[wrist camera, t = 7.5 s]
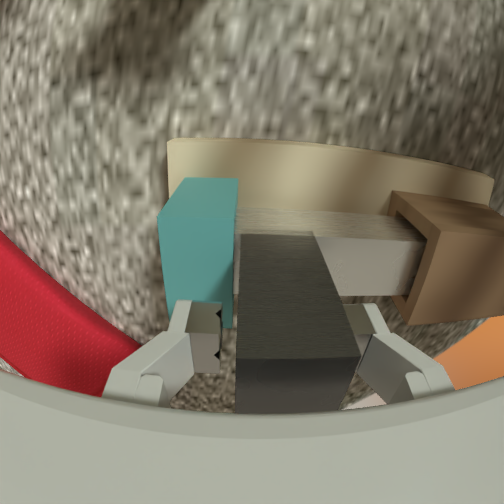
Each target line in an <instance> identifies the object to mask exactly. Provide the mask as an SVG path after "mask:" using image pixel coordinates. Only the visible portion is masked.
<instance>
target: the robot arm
mask: <svg viewBox="0 0 504 504" xmlns="http://www.w3.org/2000/svg"><path fill="white" fill-rule="evenodd" d="M343 307H344V309H345V312H346V315H347V317H348V320H349V323H350V325H351V328H352V331H353V333H354V336H355V339H356V342H357V344H358V347H359V350H360V353H361V355H362V357H361V359H360V361H359V364H358V366H357V369H356V371H355V372H357V374H358V375H359V376H360V377H361V378H362V379H363V380H364V381H365V382H366V383H367V384H368V385H369V386H370V387H371V388H372V389H373V390H374V391H375V392H376V393H377V394H378V395H379V396H380V397H381V398H382V399H383V400H384V401H385V402H386V403H387V405H379V406H373V407H365V408H356V409H347V410H336V411H323V412H307V413H279V414H250V413H221V412H204V411H192V410H181V409H172V408H171V406H170V402H169V401H170V400H171V399H172V398H173V397H174V396H175V395H176V394H177V392H178V391H179V390H180V389H181V388H182V387H183V386H184V385H185V384H186V383H187V381H188V380H189V379H190V378H191V377H192V376H193V375H194V372H196V373H220V367H221V349H222V343H223V321H222V316H223V303H222V302H215V301H200V300H184V299H178V300H177V301H176V303H175V306H174V310H173V313H172V316H171V320H170V323H169V327H168V330H167V331H162V332H161V333H160V334H158V335H157V336H156V337H154V338H153V339H152V340H150V341H149V342H147V343H146V344H145V345H143V346H142V347H141V348H139V349H138V350H137V351H135V352H134V353H132V354H131V355H130V356H128V357H127V358H126V359H124V360H123V361H121V362H120V363H119V364H117V365H116V366H115V367H113V368H112V370H111V373H110V375H109V378H108V380H107V383H106V386H105V388H104V391H103V394H102V396H101V397H97V396H92V395H88V394H83V393H79V392H75V391H71V390H67V389H63V388H59V387H55V386H52V385H48V384H45V383H41V382H38V381H35V380H31V379H28V378H25V377H22V376H19V375H16V374H13V373H10V372H7V371H5V370H2V369H0V504H504V376H503V377H500V378H497V379H494V380H491V381H488V382H484V383H481V384H477V385H474V386H471V387H467V388H464V389H459V390H455V389H454V387H453V385H452V383H451V381H450V379H449V377H448V375H447V373H446V371H445V369H444V367H443V366H442V365H441V364H439V363H438V362H436V361H435V360H433V359H432V358H430V357H429V356H427V355H426V354H424V353H423V352H422V351H420V350H419V349H417V348H416V347H414V346H413V345H411V344H410V343H408V342H407V341H405V340H404V339H402V338H401V337H400V336H398V335H397V334H395V333H390V331H389V329H388V327H387V325H386V323H385V321H384V319H383V317H382V315H381V313H380V311H379V309H378V307H377V305H376V304H375V303H361V304H343Z"/></svg>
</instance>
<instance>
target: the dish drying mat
mask: <svg viewBox="0 0 504 504" xmlns="http://www.w3.org/2000/svg"><path fill="white" fill-rule="evenodd" d="M141 347H142V345H140V344H139V343H137V342H136V341H135V340H133V339H132V338H130V337H129V336H127V335H126V334H124V333H123V332H121V331H120V330H118V329H117V328H116V327H114V326H113V325H112V324H110V323H109V322H108V321H106V320H105V319H103V318H102V317H101V316H99V315H98V314H97V313H95V312H94V311H93V310H91V309H90V308H89V307H88V306H86V305H85V304H84V303H82V302H81V301H80V300H79V299H77V298H76V297H75V296H74V295H72V294H71V293H70V292H69V291H67V290H66V289H65V288H64V287H63V286H61V285H60V284H59V283H58V282H57V281H56V280H54V279H53V278H52V277H51V276H50V275H48V274H47V273H46V272H45V271H44V270H43V269H41V268H40V267H39V266H38V265H37V264H36V263H35V262H34V261H33V260H31V259H30V258H29V257H28V256H27V255H26V254H25V253H24V252H23V251H21V250H20V249H19V248H18V247H17V246H16V245H15V244H14V243H13V242H12V241H11V240H10V239H9V238H8V237H7V236H6V235H5V234H4V233H3V232H2V231H1V230H0V357H1V358H2V359H3V360H4V361H6V362H7V363H8V364H9V365H10V366H12V367H13V368H14V369H15V370H16V371H18V372H19V373H20V374H22V375H23V376H24V377H25V378H28V379H31V380H35V381H38V382H41V383H45V384H48V385H52V386H55V387H59V388H63V389H67V390H71V391H75V392H79V393H83V394H88V395H92V396H97V397H101V396H102V394H103V391H104V388H105V386H106V383H107V380H108V378H109V375H110V373H111V370H112V368H113V367H115V366H116V365H117V364H119V363H120V362H121V361H123V360H124V359H126V358H127V357H128V356H130V355H131V354H132V353H134V352H135V351H137V350H138V349H139V348H141Z"/></svg>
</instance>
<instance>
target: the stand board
mask: <svg viewBox="0 0 504 504" xmlns="http://www.w3.org/2000/svg"><path fill="white" fill-rule="evenodd" d="M167 158H168V185H169V199H170V197H171V196H172V194H173V193H174V192H175V190H176V189H177V187H178V186H179V185H180V183H181V182H182V180H183V179H184V178H185V177H202V178H238V206H237V207H252V208H276V209H295V210H313V211H329V212H344V213H357V214H370V215H382V216H387V212H388V208H389V203H390V198H391V193H392V190H395V191H403V192H410V193H417V194H425V195H431V196H438V197H444V198H450V199H456V200H462V201H468V202H474V203H479V204H484V205H487V206H488V205H489V201H490V197H491V193H492V189H493V185H494V181H495V179H493V178H491V177H489V176H487V175H485V174H483V173H481V172H477V171H473V170H469V169H465V168H461V167H457V166H453V165H448V164H444V163H439V162H435V161H430V160H425V159H420V158H415V157H410V156H404V155H399V154H393V153H387V152H381V151H374V150H367V149H360V148H353V147H345V146H337V145H328V144H318V143H308V142H296V141H283V140H266V139H244V138H173V139H172V140H170V141H168V142H167Z"/></svg>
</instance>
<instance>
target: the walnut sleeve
mask: <svg viewBox="0 0 504 504" xmlns="http://www.w3.org/2000/svg"><path fill="white" fill-rule="evenodd" d="M387 216H394V217H405V218H406V219H407V220H408V221H409V222H410V223H411V224H412V225H414V226H415V227H416V228H417V229H418V230H419V231H420V232H421V233H422V234H423V235H424V236H425V237H426V238H427V239H428V240H427V244H426V247H425V250H424V253H423V257H422V260H421V263H420V266H419V269H418V272H417V275H416V278H415V281H414V283H413V286H412V289H411V292H410V294H409V295H390V297H391V299H392V300H393V302H394V304H395V305H396V307H397V309H398V311H399V312H400V314H401V316H402V318H403V320H404V321H405V323H406V325H407V326H410V325H423V324H434V323H445V322H454V321H464V320H472V319H480V318H488V317H494V316H502V315H504V217H503V216H502V215H500V214H499V213H497V212H496V211H494V210H493V209H491V208H490V207H488V206H487V205H484V204H479V203H474V202H468V201H462V200H456V199H450V198H444V197H438V196H431V195H425V194H417V193H410V192H403V191H395V190H392V193H391V198H390V203H389V208H388V212H387Z"/></svg>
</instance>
